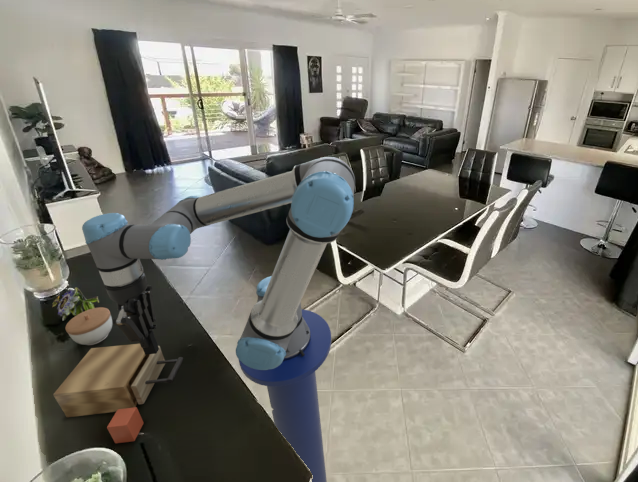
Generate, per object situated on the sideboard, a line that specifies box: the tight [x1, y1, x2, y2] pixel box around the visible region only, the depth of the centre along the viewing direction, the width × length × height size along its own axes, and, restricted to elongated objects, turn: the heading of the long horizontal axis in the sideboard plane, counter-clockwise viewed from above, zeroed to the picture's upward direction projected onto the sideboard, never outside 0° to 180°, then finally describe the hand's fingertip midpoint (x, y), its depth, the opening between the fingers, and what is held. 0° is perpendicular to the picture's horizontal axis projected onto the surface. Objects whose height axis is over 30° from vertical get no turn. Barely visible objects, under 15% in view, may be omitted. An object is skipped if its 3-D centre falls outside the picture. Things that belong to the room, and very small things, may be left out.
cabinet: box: [52, 343, 145, 418], centre depth 85 cm, size 16×14×9 cm
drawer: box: [127, 345, 184, 405], centre depth 86 cm, size 21×12×7 cm, turn 97°
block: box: [106, 406, 144, 444], centre depth 76 cm, size 4×4×6 cm
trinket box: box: [65, 306, 113, 346], centre depth 101 cm, size 11×11×9 cm
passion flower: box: [51, 287, 100, 322], centre depth 112 cm, size 11×11×12 cm
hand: (152, 351), depth 84 cm, fingers closed
